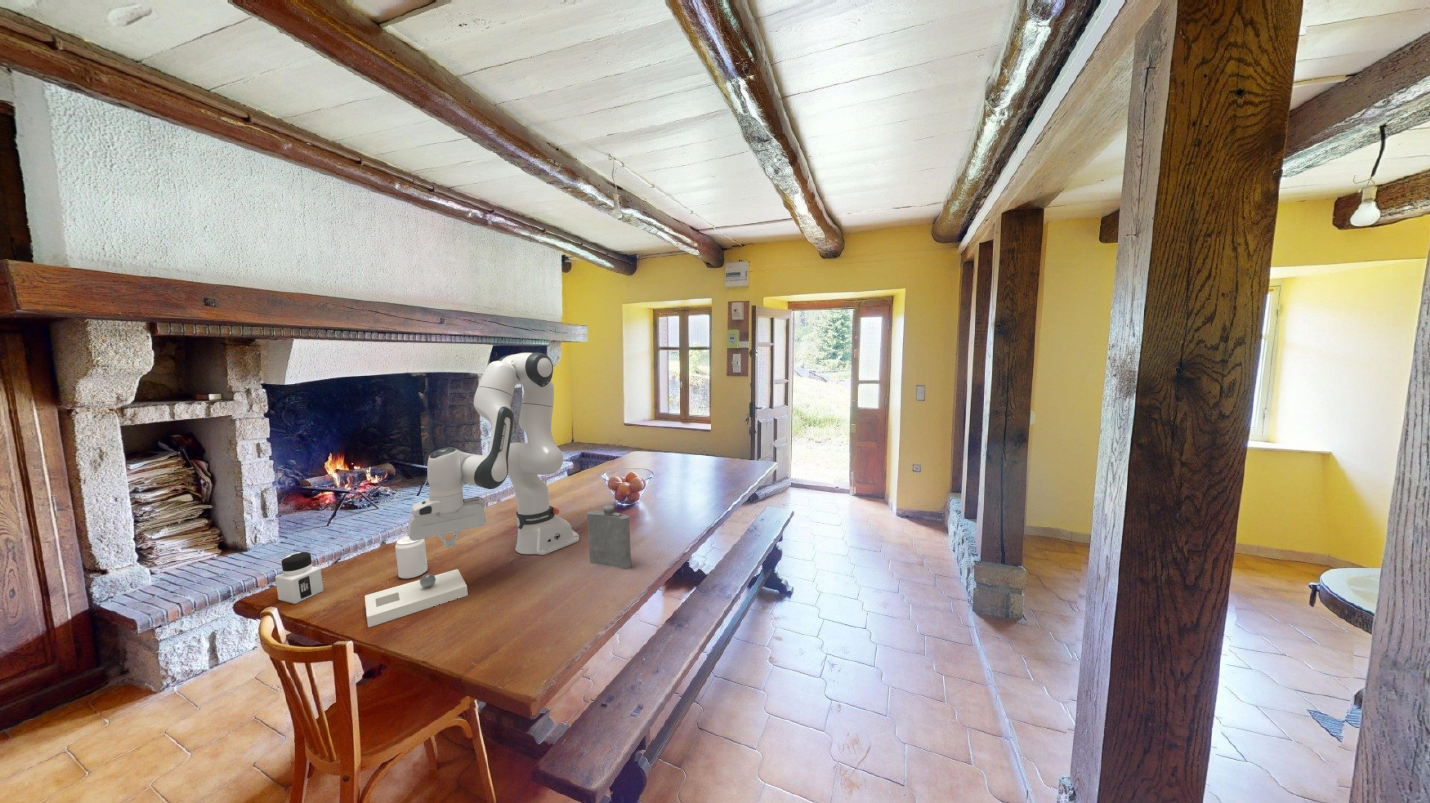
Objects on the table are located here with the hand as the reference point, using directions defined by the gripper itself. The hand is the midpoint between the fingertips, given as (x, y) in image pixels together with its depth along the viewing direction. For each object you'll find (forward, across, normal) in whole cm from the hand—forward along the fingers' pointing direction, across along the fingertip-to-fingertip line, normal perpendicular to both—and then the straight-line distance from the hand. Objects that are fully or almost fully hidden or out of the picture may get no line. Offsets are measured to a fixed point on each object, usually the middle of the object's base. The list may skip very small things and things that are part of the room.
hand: (449, 546), depth 139 cm
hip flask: (+13, -45, +16) cm, 50 cm away
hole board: (+14, +9, 0) cm, 17 cm away
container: (+15, +36, -27) cm, 48 cm away
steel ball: (+9, +6, 0) cm, 11 cm away
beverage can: (+14, +8, -20) cm, 26 cm away
